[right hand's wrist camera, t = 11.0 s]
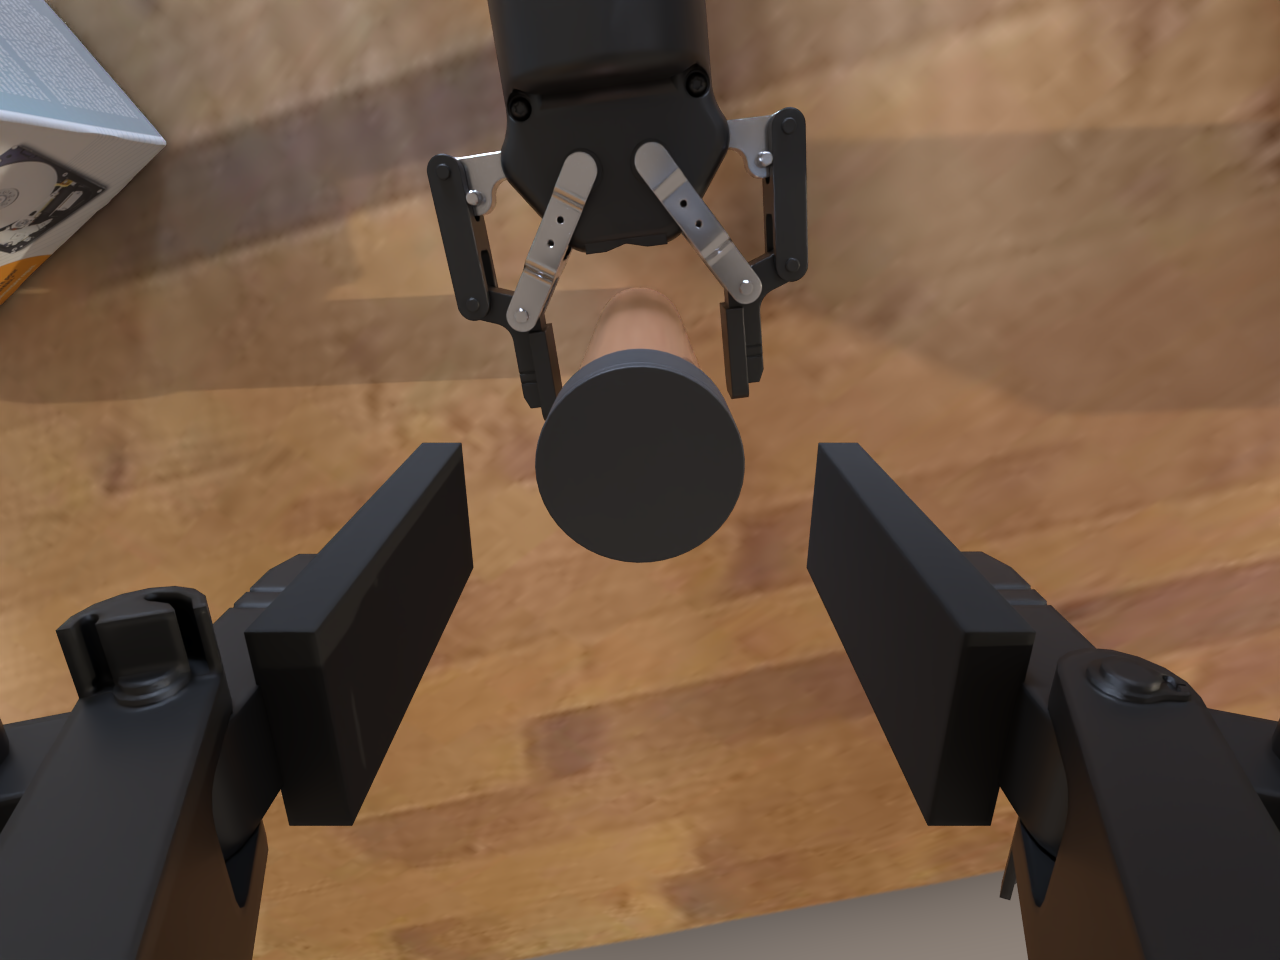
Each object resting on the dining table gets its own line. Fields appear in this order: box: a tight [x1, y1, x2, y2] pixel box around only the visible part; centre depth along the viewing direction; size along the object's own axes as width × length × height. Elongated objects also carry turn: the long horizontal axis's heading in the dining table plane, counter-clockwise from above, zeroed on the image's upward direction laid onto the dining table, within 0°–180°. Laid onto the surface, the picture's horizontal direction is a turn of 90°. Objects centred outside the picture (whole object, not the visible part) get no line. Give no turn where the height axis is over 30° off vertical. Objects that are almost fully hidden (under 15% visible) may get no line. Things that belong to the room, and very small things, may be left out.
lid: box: [535, 349, 745, 563], centre depth 17 cm, size 5×5×2 cm
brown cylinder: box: [579, 287, 701, 370], centre depth 26 cm, size 4×4×20 cm
